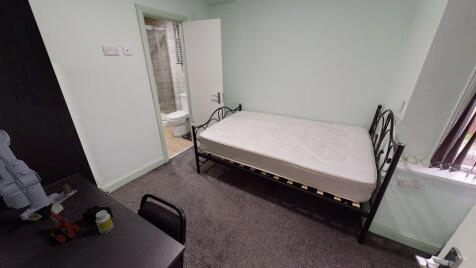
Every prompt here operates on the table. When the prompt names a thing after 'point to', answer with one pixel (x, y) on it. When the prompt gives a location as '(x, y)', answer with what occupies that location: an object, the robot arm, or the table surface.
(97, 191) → the table surface
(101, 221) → the supplement bottle
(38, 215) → the pawn
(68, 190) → the pawn
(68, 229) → the toy fire truck
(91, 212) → the digital camera
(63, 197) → the board
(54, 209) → the die
